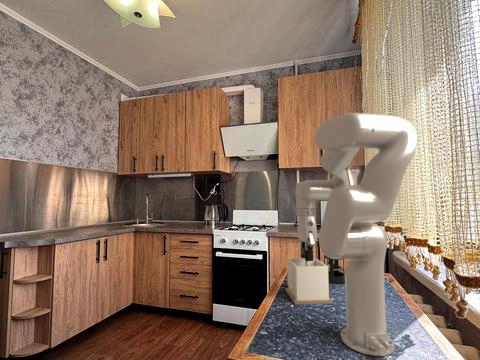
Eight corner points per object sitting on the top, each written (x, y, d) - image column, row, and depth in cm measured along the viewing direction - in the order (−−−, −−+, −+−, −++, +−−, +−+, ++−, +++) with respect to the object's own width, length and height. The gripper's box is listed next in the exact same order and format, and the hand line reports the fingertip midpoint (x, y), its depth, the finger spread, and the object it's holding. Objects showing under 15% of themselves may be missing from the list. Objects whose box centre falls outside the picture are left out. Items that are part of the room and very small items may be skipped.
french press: (342, 286, 110) (341, 232, 112) (321, 282, 115) (319, 231, 117) (347, 279, 120) (346, 230, 122) (327, 275, 125) (326, 229, 127)
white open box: (332, 303, 92) (331, 266, 93) (294, 304, 91) (293, 267, 92) (318, 289, 106) (317, 258, 107) (284, 290, 105) (284, 258, 106)
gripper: (323, 213, 93) (324, 264, 91) (308, 211, 109) (308, 254, 108) (303, 214, 92) (304, 265, 91) (291, 211, 109) (291, 254, 107)
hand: (306, 258), depth 99 cm, fingers closed on plunger, 4 cm apart
